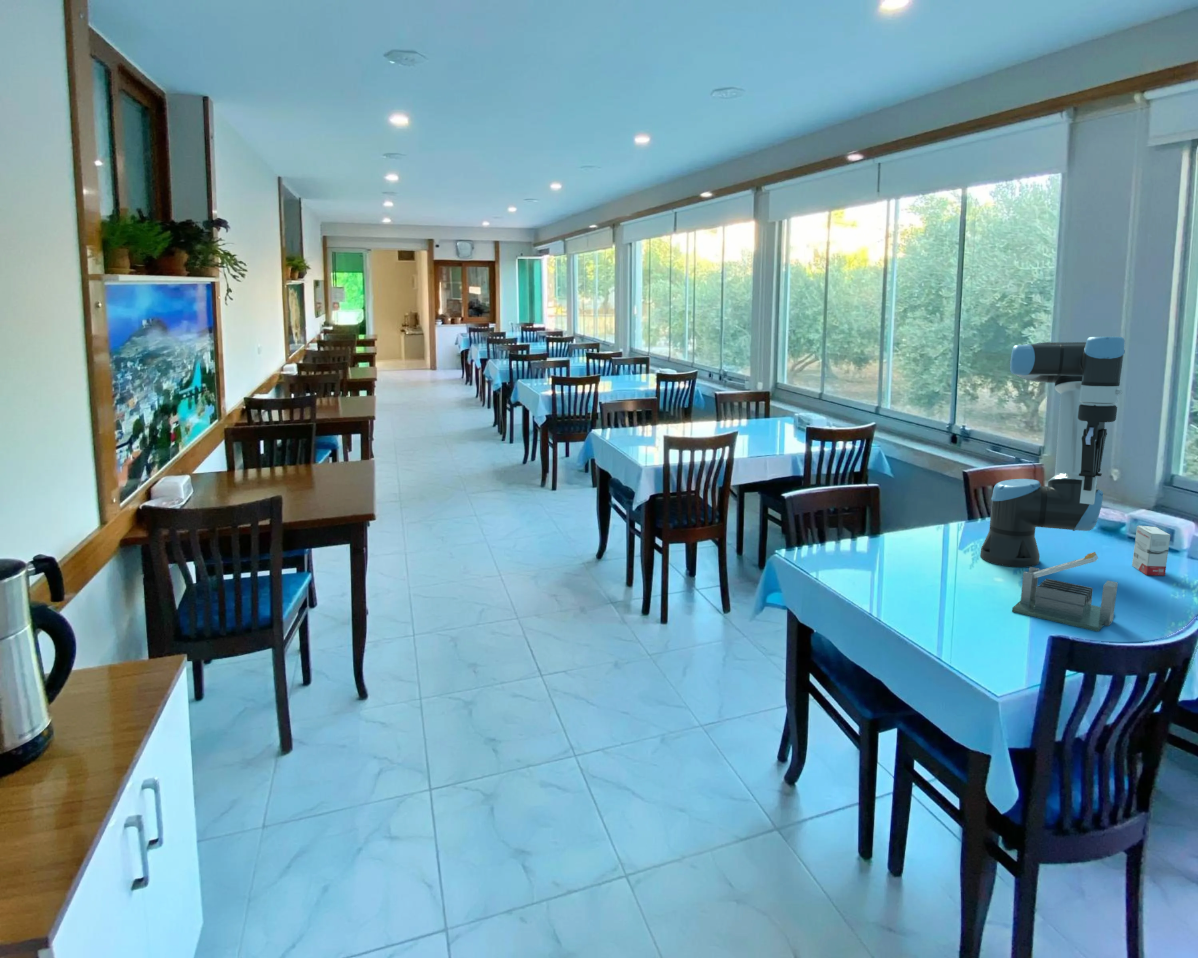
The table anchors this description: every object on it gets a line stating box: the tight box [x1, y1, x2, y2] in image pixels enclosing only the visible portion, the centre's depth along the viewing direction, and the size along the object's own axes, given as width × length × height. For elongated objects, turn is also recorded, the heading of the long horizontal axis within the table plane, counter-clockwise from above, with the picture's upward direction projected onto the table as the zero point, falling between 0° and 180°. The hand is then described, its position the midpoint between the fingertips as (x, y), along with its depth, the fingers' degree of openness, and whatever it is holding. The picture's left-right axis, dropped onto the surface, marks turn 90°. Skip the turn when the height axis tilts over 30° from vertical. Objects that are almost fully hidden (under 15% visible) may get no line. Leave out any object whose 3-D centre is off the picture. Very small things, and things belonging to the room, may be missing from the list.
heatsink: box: [1011, 566, 1118, 633], centre depth 183 cm, size 19×14×10 cm
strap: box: [1031, 551, 1099, 579], centre depth 183 cm, size 16×3×2 cm, turn 43°
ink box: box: [1131, 525, 1171, 577], centre depth 210 cm, size 9×5×12 cm, turn 168°
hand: (1086, 503), depth 182 cm, fingers closed
